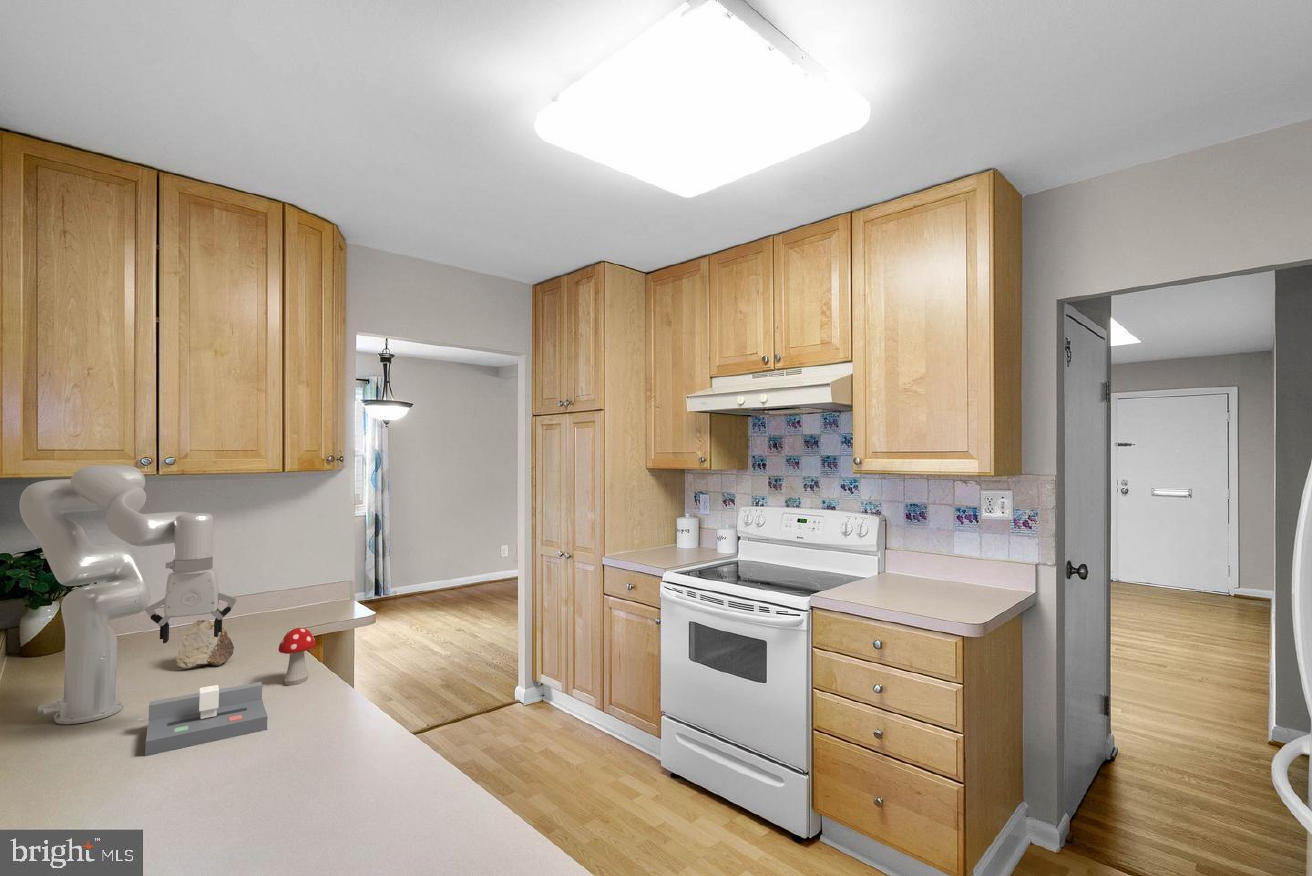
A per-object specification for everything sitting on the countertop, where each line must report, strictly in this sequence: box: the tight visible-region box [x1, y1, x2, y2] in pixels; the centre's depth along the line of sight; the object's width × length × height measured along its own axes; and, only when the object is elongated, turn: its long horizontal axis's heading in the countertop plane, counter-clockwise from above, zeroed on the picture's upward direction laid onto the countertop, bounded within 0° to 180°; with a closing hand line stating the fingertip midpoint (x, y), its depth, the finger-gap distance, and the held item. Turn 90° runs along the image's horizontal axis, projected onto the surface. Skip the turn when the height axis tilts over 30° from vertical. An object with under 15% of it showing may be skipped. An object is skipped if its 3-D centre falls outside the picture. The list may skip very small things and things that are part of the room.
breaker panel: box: [144, 681, 268, 757], centre depth 146 cm, size 22×16×6 cm
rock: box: [174, 619, 235, 670], centre depth 190 cm, size 15×8×15 cm
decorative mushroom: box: [277, 627, 317, 686], centre depth 177 cm, size 10×9×15 cm
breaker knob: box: [198, 684, 220, 719], centre depth 146 cm, size 4×4×6 cm
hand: (191, 638), depth 148 cm, fingers open, 9 cm apart
